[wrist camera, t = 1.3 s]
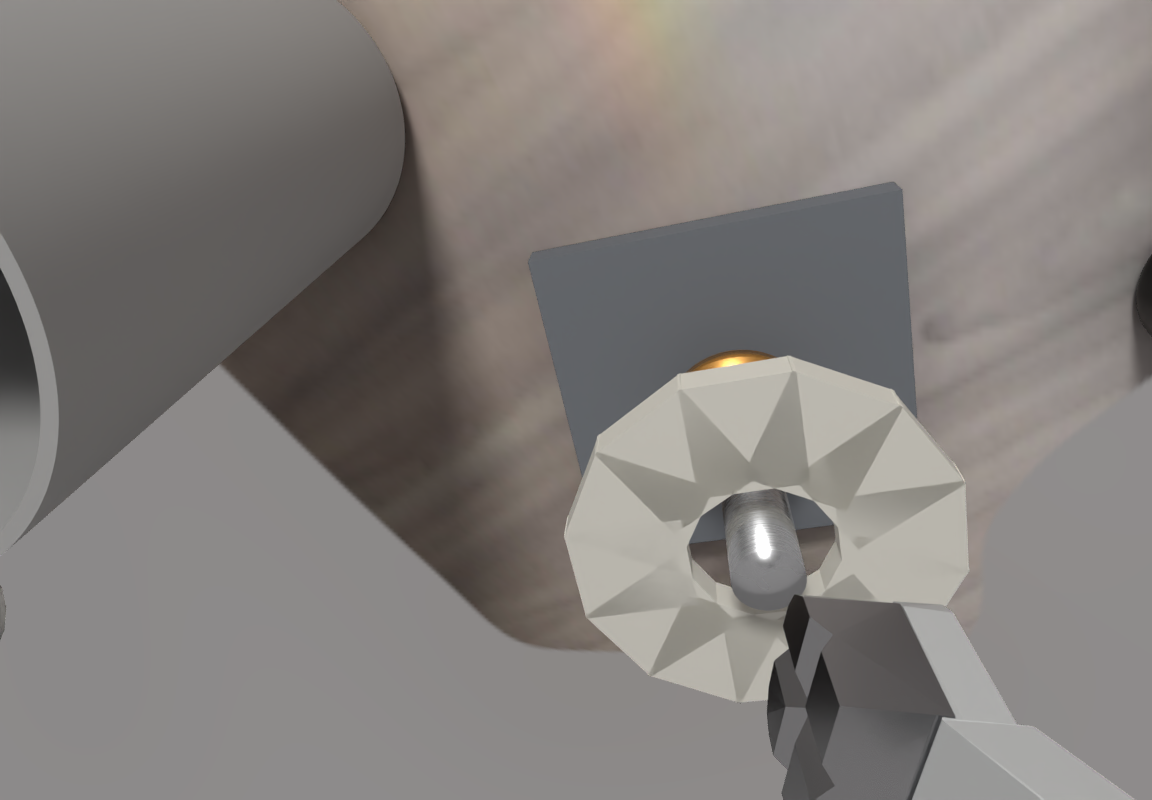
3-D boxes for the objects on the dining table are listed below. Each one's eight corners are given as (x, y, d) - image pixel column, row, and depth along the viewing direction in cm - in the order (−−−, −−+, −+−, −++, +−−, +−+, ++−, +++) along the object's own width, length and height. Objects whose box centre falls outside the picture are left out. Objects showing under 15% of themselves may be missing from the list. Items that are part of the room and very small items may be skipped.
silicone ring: (948, 328, 26) (960, 343, 25) (963, 656, 32) (973, 680, 31) (534, 397, 29) (530, 413, 28) (613, 692, 34) (612, 715, 33)
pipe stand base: (893, 181, 37) (902, 189, 36) (915, 496, 44) (923, 513, 42) (532, 252, 40) (527, 262, 38) (603, 538, 46) (602, 555, 45)
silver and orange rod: (797, 317, 39) (862, 482, 26) (812, 442, 41) (879, 646, 29) (654, 342, 40) (652, 511, 27) (678, 462, 42) (685, 667, 30)
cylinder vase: (234, 298, 42) (-248, 662, 20) (73, 44, 38) (-789, 144, 15) (459, 196, 39) (190, 491, 17) (314, -95, 34) (-329, -226, 12)
